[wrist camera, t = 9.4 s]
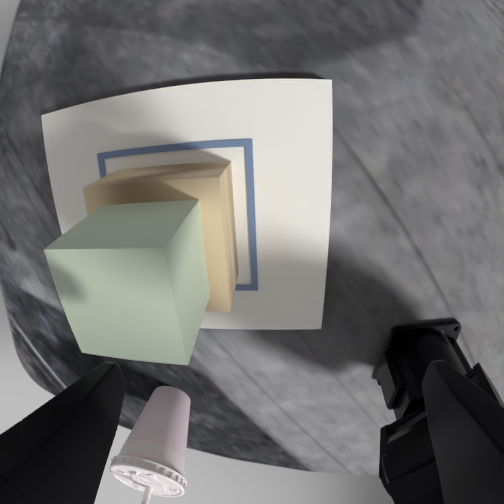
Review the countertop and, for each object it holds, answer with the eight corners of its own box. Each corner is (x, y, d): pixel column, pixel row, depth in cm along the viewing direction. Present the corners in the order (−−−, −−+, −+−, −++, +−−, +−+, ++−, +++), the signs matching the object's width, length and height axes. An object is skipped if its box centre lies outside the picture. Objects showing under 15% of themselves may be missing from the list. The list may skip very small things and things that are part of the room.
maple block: (231, 161, 17) (219, 177, 14) (238, 273, 20) (230, 311, 17) (116, 170, 18) (82, 188, 14) (135, 272, 21) (111, 306, 17)
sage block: (199, 199, 14) (164, 248, 10) (210, 295, 16) (188, 365, 12) (102, 205, 15) (43, 249, 10) (122, 292, 17) (81, 352, 12)
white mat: (328, 81, 16) (332, 79, 15) (319, 320, 23) (321, 329, 22) (49, 113, 17) (40, 115, 16) (93, 312, 24) (88, 320, 23)
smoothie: (159, 417, 30) (125, 531, 17) (128, 378, 27) (76, 503, 15) (214, 414, 29) (191, 543, 16) (186, 372, 26) (145, 520, 14)
